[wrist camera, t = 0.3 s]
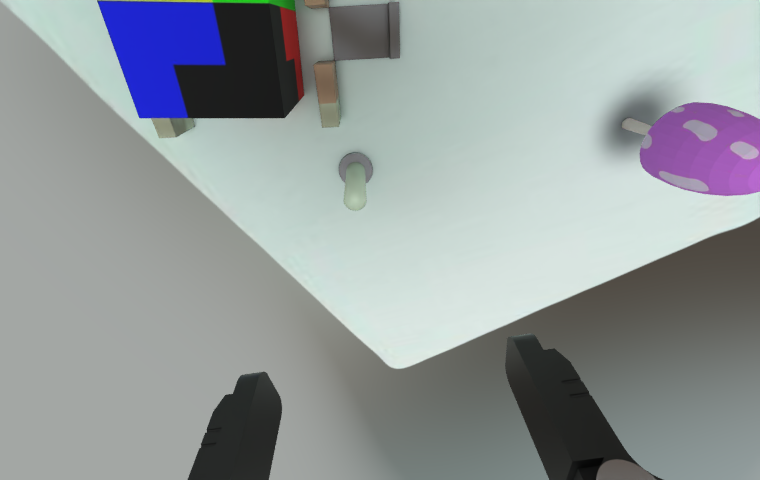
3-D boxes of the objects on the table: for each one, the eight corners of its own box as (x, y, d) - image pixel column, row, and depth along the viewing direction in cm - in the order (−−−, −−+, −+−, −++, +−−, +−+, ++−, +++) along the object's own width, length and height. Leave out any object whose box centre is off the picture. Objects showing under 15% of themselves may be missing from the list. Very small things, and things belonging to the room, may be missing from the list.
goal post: (337, 153, 35) (332, 182, 28) (371, 151, 35) (374, 180, 29) (341, 185, 37) (337, 219, 30) (373, 183, 37) (376, 217, 30)
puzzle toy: (198, 94, 32) (139, 118, 23) (162, -42, 26) (69, -76, 18) (304, 95, 32) (284, 118, 24) (290, -39, 27) (258, -71, 18)
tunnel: (124, -27, 27) (89, -36, 23) (395, -42, 27) (400, -53, 24) (179, 127, 33) (159, 138, 30) (398, 113, 33) (403, 122, 30)
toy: (665, 79, 33) (855, 110, 20) (655, 143, 36) (813, 203, 24) (595, 101, 34) (738, 143, 21) (593, 162, 37) (714, 229, 25)
